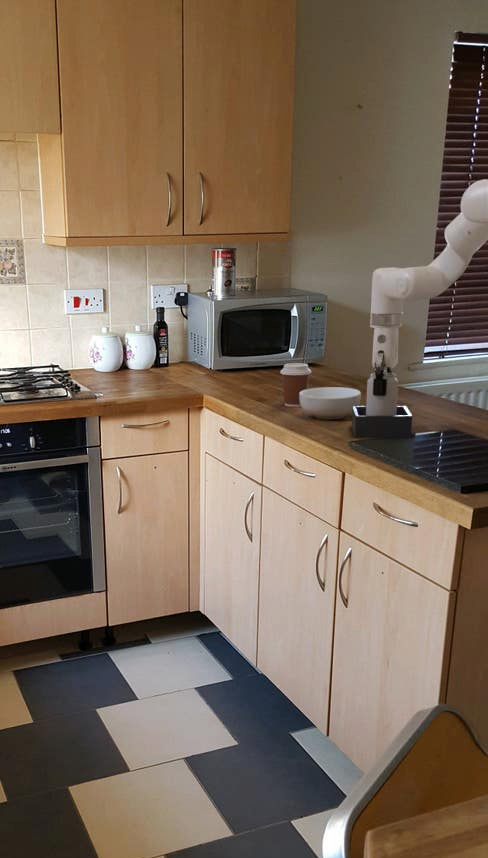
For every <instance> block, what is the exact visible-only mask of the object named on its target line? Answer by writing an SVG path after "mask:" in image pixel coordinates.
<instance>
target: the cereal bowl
mask: <svg viewBox="0 0 488 858" xmlns="http://www.w3.org/2000/svg"><path fill="white" fill-rule="evenodd" d="M299 399H300V405H301V406H300V407H301V409H302V410H303V411H304V412H305V413H307V414H308V415H312V416H314V417H315V418H316V419H319V420H339V419H343V418H345V416H348V415H351V414H352V406H360V404H361V399H362V392H361V391H360V390H358V389H356V388H352V387H351V388H350V387H341V386H340V387H339V386H337V387H336V386H329V387H326V386H325V387H313V388H308V389H306V390H303V391H301V392H300V393H299Z"/></svg>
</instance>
